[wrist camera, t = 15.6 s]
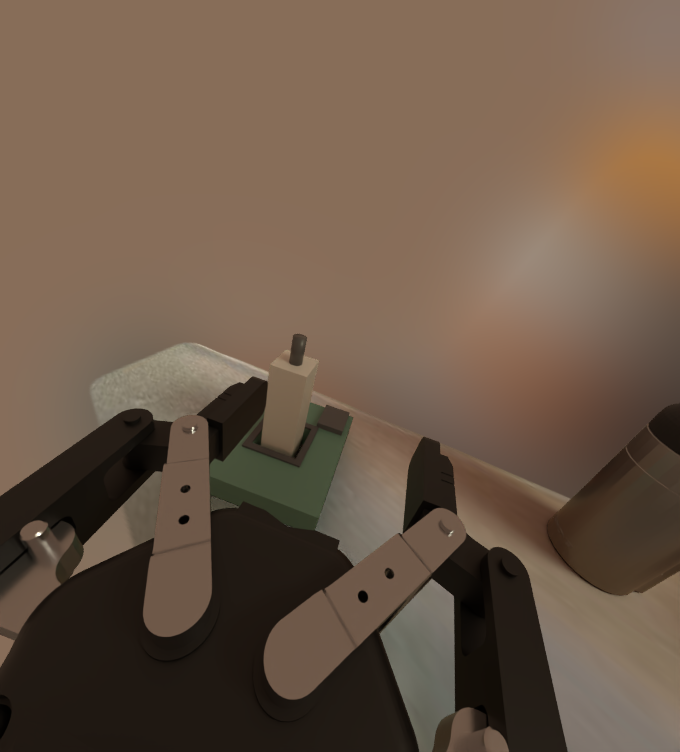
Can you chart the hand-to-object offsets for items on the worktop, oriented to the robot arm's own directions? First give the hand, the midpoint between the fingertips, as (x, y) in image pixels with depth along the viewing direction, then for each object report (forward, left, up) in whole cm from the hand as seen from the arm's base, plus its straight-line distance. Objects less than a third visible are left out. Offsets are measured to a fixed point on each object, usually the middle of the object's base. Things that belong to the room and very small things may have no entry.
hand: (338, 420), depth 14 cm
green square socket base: (+7, -15, -20) cm, 26 cm away
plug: (+7, -15, -20) cm, 26 cm away
